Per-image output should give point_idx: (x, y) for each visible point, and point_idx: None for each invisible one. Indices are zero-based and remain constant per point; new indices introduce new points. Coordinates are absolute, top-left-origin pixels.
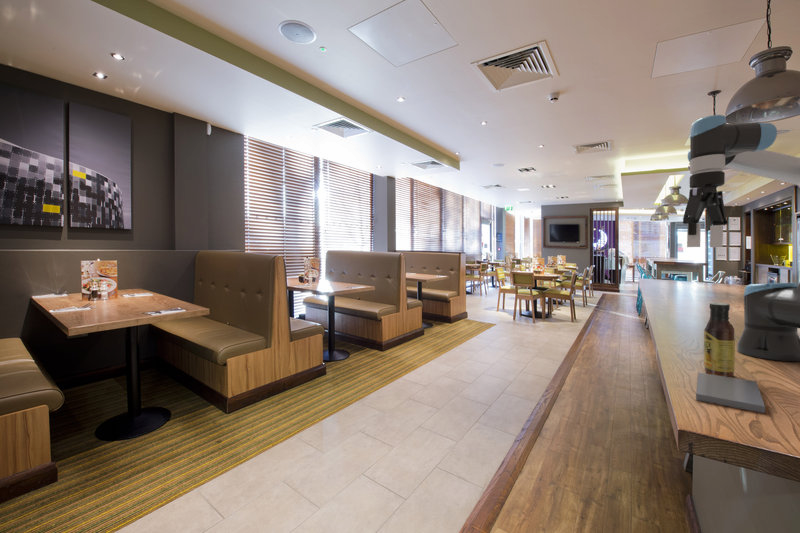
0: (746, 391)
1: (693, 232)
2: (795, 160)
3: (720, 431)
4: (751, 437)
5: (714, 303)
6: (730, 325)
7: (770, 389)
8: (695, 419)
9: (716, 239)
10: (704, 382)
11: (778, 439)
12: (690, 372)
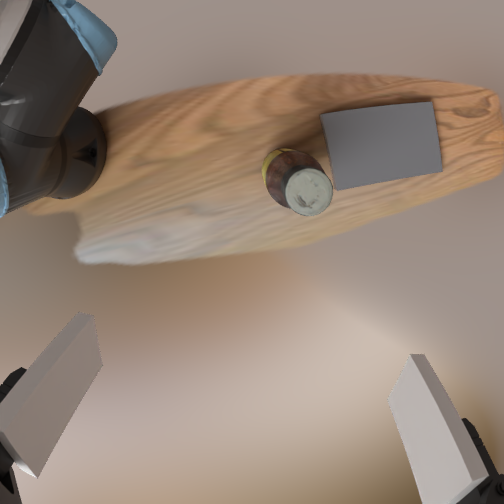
0: (389, 120)
1: (472, 431)
2: None
3: (497, 140)
4: (492, 117)
5: (314, 204)
6: (303, 159)
7: (313, 98)
8: (487, 162)
9: (74, 372)
10: (387, 171)
11: (481, 97)
12: None
